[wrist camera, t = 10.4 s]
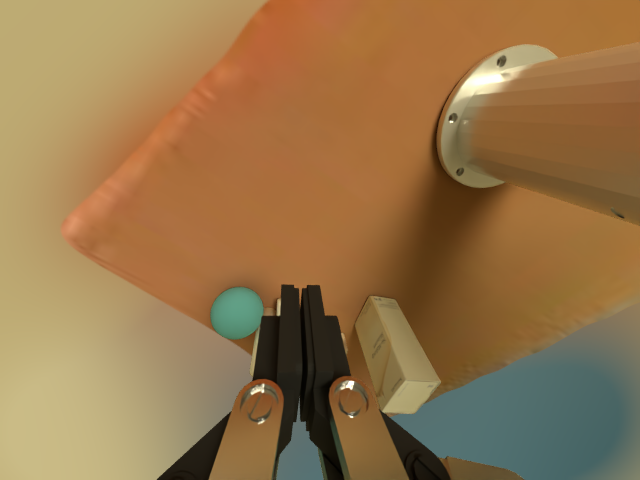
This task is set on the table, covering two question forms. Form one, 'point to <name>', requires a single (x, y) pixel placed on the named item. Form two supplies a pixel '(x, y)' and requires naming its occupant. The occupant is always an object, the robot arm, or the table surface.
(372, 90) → the table surface
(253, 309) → the ball
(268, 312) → the pin
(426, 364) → the skincare box
